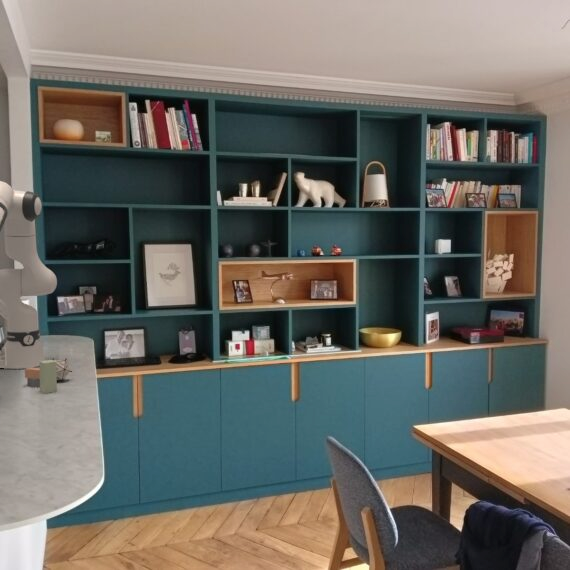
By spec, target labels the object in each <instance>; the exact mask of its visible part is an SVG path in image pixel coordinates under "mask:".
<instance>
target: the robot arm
mask: <svg viewBox="0 0 570 570" xmlns="http://www.w3.org/2000/svg"><path fill="white" fill-rule="evenodd" d="M41 213H42V199H41V198H40V196H39V195H38V193H36V192H33V191H29V190H27V191H24V190H17V189H13V188H12V187H11V185H10V184H8V183H7V182H5V181H1V180H0V232H1V231H2V229H3V227H4V249H5V255H7V257H8V258H9V259H11V260H13V261H16V262H18V263H20V264H21V265H22V267H23V268H3V269H0V317H2V318H3V319H4V320H6V321H7V332H6V341H5V343H4V345H3V347H2V348H1V350H0V357H1V358H0V368H4V369H3V370H5V369H12V370H13V369H15V370H16V369H17V370H19V369H22V370H23V369H27V368H31V367H32V368H38V367H40V364H39V361H47V360H48V359H45V349H44V347H45V346H44V343H43V342H42V341H41V340H40V338H41V337H40V335H41V333H40V329H39V312H38V311H37V309H36V308H35V307H34V306H31V305H29V304H27V303H25V302H23V301H22V299H21V298H22V297H39V296H46V295H49V294H52V293H54V291H55V290H56V288H57V285H58V279H57V276H56V274H55V272H53V271H52V270H51V269H50V268H48V267H47V266H46V265H45V264H44V263H43V262H42V261H41V259H40V257H39V254H38V249H37V238H36V237H37V235H36V224H35V220H37V219H38V218H39V216H41Z"/></svg>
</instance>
